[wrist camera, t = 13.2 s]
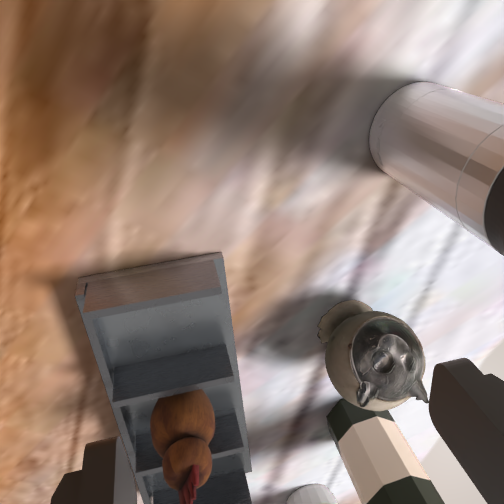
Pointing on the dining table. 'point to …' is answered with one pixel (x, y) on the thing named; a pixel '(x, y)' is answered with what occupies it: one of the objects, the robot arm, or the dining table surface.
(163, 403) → the wooden figurine
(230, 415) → the grey shelf
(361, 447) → the wine bottle
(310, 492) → the coffee cup
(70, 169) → the dining table surface
